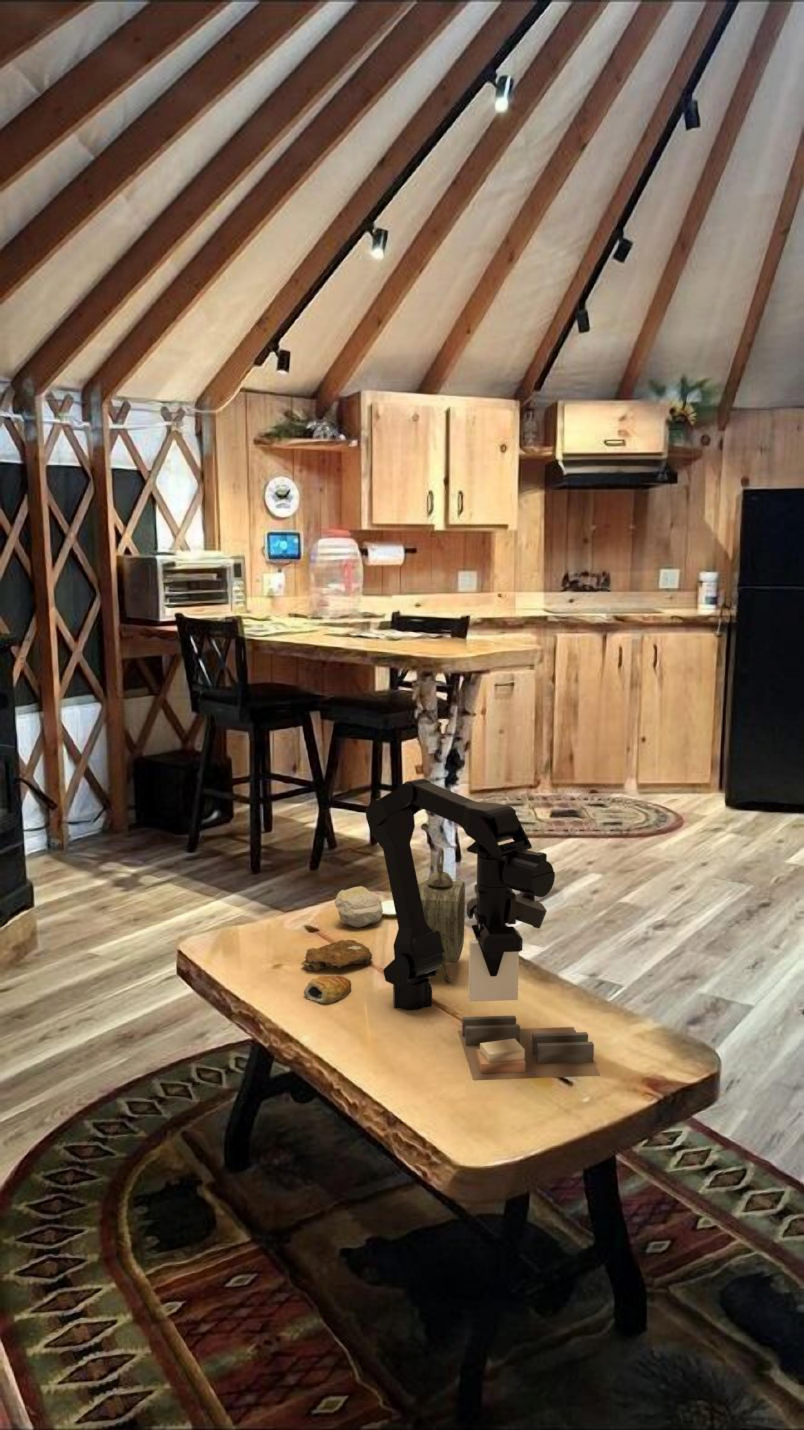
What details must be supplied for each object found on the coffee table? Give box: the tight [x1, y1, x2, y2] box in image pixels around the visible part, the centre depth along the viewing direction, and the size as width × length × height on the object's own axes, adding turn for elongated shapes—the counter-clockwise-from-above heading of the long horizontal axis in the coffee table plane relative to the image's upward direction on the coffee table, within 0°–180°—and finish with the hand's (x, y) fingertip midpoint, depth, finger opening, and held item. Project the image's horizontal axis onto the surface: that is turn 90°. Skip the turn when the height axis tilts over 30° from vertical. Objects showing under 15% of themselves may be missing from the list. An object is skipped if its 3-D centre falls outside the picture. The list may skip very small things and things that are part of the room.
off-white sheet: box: [468, 939, 520, 1002], centre depth 169 cm, size 8×2×10 cm, turn 95°
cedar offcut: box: [476, 1049, 525, 1073], centre depth 162 cm, size 7×5×2 cm
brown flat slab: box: [300, 939, 373, 972], centre depth 206 cm, size 11×4×15 cm
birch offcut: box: [480, 1039, 525, 1064], centre depth 162 cm, size 6×4×2 cm, turn 107°
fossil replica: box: [334, 885, 384, 928], centre depth 230 cm, size 12×8×10 cm
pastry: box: [303, 974, 352, 1004], centre depth 192 cm, size 9×7×4 cm
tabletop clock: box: [418, 848, 466, 984], centre depth 201 cm, size 14×9×25 cm, turn 170°
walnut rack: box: [457, 1015, 602, 1081], centre depth 166 cm, size 20×17×4 cm
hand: (492, 973), depth 169 cm, fingers closed on off-white sheet, 2 cm apart
